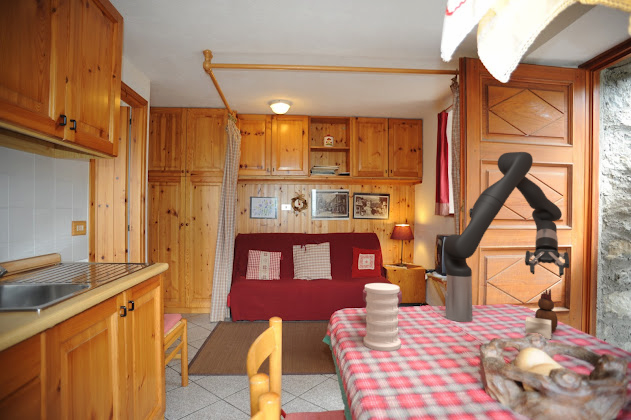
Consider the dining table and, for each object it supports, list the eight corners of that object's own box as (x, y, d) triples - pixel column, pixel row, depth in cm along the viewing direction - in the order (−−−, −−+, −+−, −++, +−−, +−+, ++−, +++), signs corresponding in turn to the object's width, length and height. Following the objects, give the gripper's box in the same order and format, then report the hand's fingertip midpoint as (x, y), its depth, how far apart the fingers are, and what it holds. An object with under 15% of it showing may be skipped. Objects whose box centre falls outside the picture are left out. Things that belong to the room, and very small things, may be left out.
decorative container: (402, 339, 105) (402, 284, 105) (399, 353, 94) (399, 291, 95) (366, 335, 109) (366, 281, 109) (360, 348, 98) (360, 288, 98)
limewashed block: (525, 335, 109) (525, 320, 109) (527, 330, 114) (526, 316, 114) (551, 340, 105) (550, 324, 105) (551, 335, 110) (551, 320, 110)
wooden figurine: (560, 334, 110) (559, 290, 111) (542, 333, 111) (541, 289, 112) (550, 328, 117) (549, 286, 117) (533, 327, 118) (532, 285, 119)
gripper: (525, 235, 136) (523, 266, 126) (568, 236, 127) (570, 269, 118) (526, 247, 140) (525, 278, 130) (568, 249, 131) (570, 281, 122)
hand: (546, 274), depth 124 cm, fingers open, 8 cm apart
